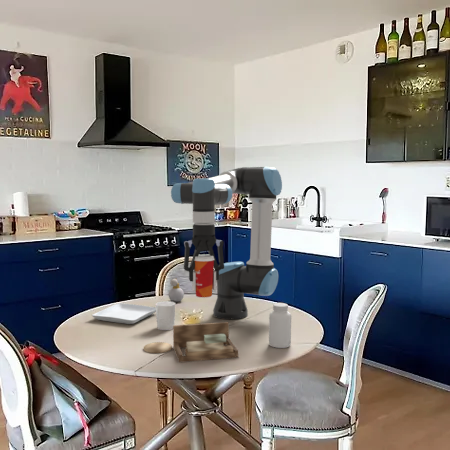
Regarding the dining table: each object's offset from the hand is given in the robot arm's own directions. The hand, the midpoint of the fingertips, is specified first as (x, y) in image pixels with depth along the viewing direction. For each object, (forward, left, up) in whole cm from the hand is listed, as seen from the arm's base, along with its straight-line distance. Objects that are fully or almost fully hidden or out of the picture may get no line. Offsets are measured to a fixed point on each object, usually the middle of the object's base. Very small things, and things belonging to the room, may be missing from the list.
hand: (204, 289), depth 178 cm
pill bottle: (-28, 0, -22) cm, 36 cm away
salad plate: (+25, -49, -22) cm, 60 cm away
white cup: (+10, -30, -22) cm, 39 cm away
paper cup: (0, 0, -2) cm, 2 cm away
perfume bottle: (0, -71, -22) cm, 75 cm away
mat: (+16, -6, -22) cm, 27 cm away
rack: (0, +1, -22) cm, 22 cm away
